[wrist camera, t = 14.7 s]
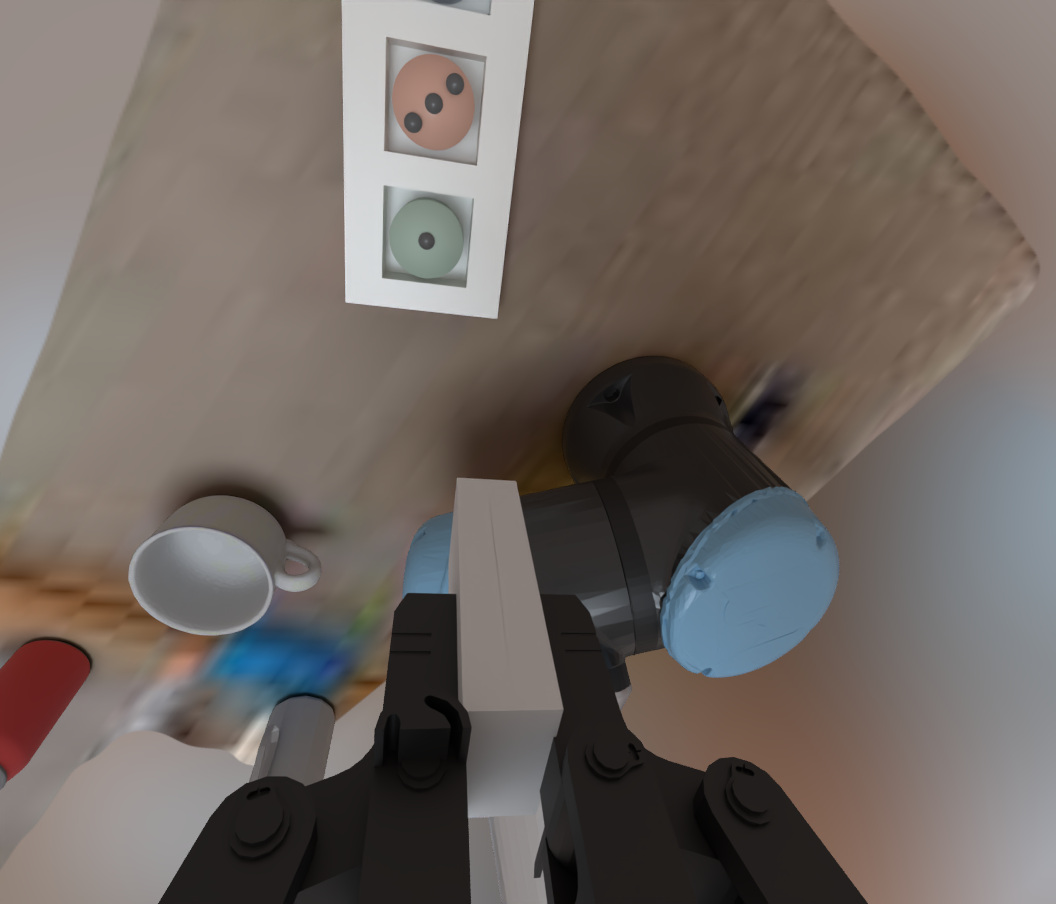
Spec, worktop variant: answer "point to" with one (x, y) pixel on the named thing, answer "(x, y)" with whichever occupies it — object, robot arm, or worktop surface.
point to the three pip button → (433, 102)
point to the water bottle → (296, 741)
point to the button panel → (416, 172)
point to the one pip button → (426, 238)
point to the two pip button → (447, 1)
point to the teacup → (216, 566)
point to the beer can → (35, 698)
